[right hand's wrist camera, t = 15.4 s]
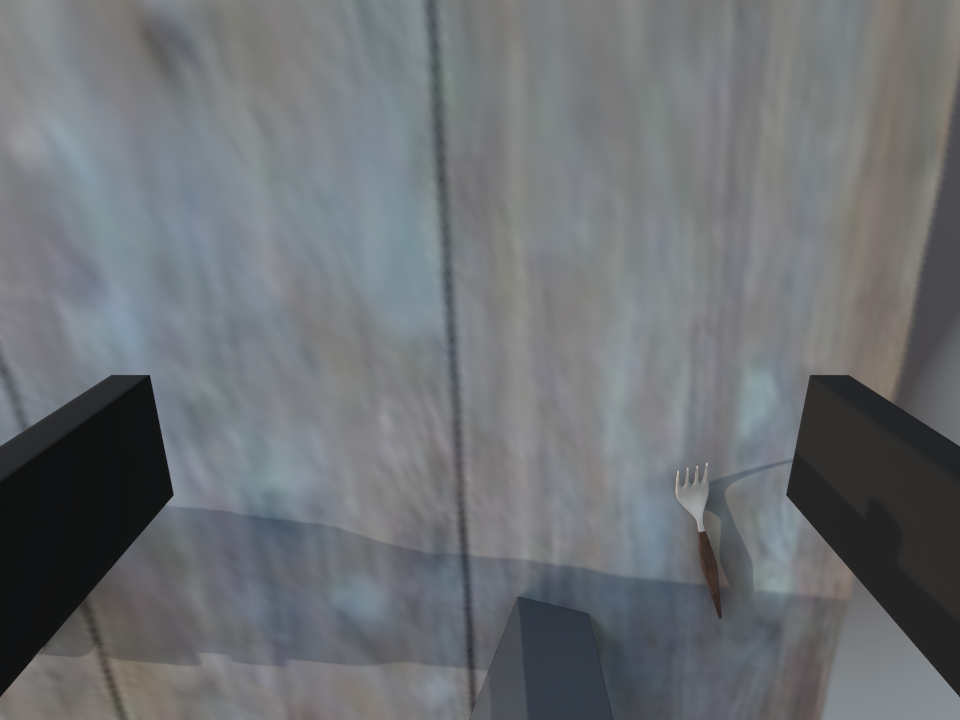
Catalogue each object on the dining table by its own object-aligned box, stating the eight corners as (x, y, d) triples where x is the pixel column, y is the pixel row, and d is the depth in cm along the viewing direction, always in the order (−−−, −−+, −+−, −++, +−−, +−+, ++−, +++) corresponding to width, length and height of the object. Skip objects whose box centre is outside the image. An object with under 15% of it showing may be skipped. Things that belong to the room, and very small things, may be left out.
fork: (702, 617, 52) (710, 635, 50) (667, 458, 46) (675, 471, 44) (733, 610, 51) (742, 628, 49) (701, 449, 46) (710, 462, 44)
